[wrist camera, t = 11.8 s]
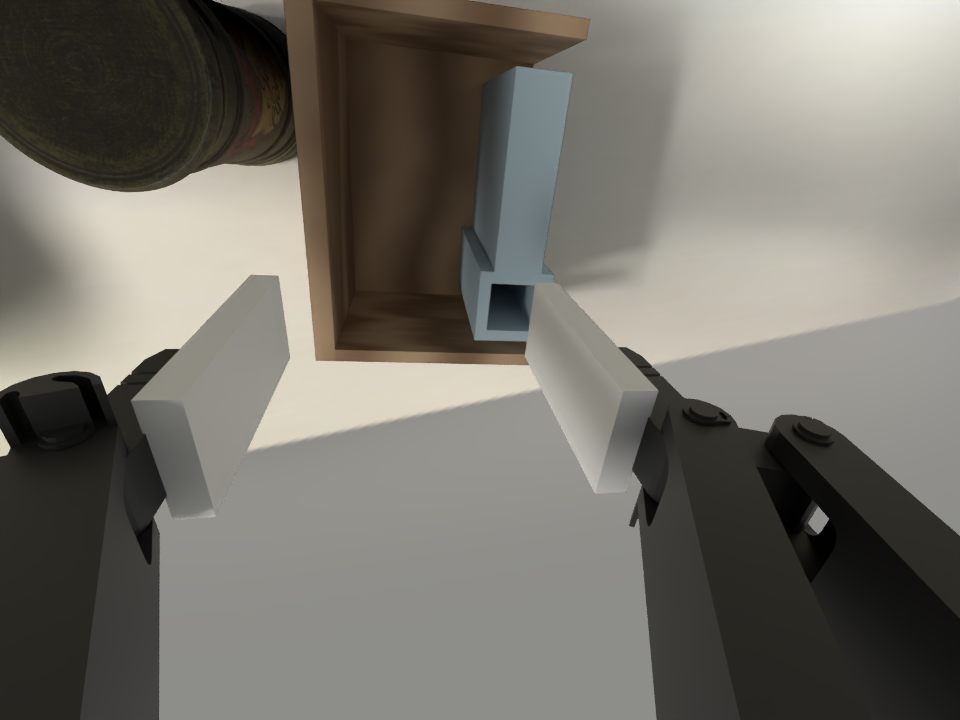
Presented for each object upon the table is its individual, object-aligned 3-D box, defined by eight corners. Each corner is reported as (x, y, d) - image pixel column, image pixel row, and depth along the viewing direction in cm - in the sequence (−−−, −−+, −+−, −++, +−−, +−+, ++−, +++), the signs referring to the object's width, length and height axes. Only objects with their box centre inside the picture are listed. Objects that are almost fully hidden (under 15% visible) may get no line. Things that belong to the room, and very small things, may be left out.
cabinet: (342, 294, 38) (315, 360, 28) (328, 24, 29) (281, -28, 19) (501, 301, 40) (530, 365, 30) (532, 52, 32) (589, 18, 21)
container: (235, 183, 33) (74, 241, 17) (147, 47, 29) (-173, -38, 13) (342, 132, 32) (274, 145, 17) (268, -14, 28) (84, -182, 12)
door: (458, 279, 38) (474, 340, 27) (471, 82, 31) (499, 64, 21) (510, 281, 39) (545, 341, 28) (534, 89, 32) (592, 75, 21)
